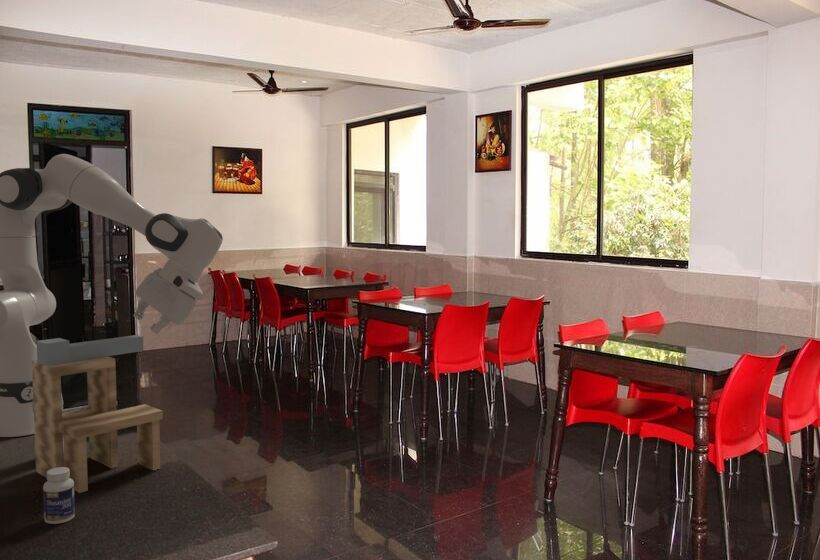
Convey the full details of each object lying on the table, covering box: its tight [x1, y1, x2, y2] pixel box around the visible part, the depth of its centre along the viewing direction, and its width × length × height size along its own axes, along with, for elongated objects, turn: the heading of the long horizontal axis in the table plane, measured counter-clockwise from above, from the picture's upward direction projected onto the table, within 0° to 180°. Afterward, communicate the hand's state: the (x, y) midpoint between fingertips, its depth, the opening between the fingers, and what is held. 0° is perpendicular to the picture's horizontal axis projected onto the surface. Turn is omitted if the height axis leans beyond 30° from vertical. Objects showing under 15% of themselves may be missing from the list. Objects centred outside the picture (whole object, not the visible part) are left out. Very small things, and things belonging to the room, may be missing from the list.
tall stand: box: [32, 356, 119, 479], centre depth 158 cm, size 11×14×26 cm
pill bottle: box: [42, 467, 76, 525], centre depth 133 cm, size 5×5×10 cm
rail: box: [36, 334, 144, 366], centre depth 160 cm, size 5×23×5 cm, turn 140°
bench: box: [59, 403, 164, 494], centre depth 155 cm, size 8×20×14 cm, turn 140°
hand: (145, 325), depth 169 cm, fingers open, 8 cm apart
